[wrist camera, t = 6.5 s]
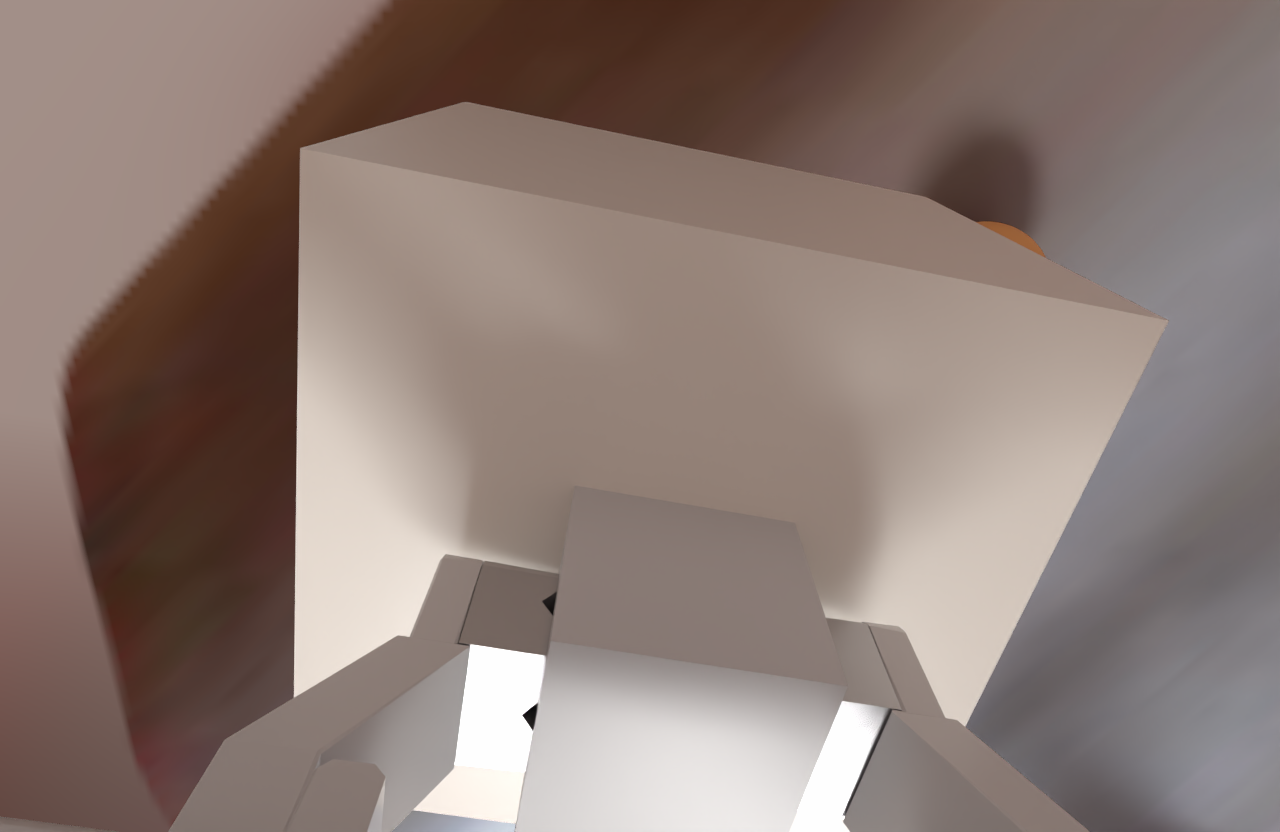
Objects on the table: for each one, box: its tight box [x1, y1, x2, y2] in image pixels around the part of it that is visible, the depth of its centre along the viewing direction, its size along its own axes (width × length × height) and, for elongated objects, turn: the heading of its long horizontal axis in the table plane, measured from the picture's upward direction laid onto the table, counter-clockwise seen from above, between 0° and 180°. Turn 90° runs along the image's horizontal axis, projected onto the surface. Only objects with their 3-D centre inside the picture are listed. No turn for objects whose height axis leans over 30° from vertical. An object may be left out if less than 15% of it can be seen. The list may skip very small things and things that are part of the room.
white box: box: [294, 102, 1169, 832], centre depth 14 cm, size 10×10×12 cm
